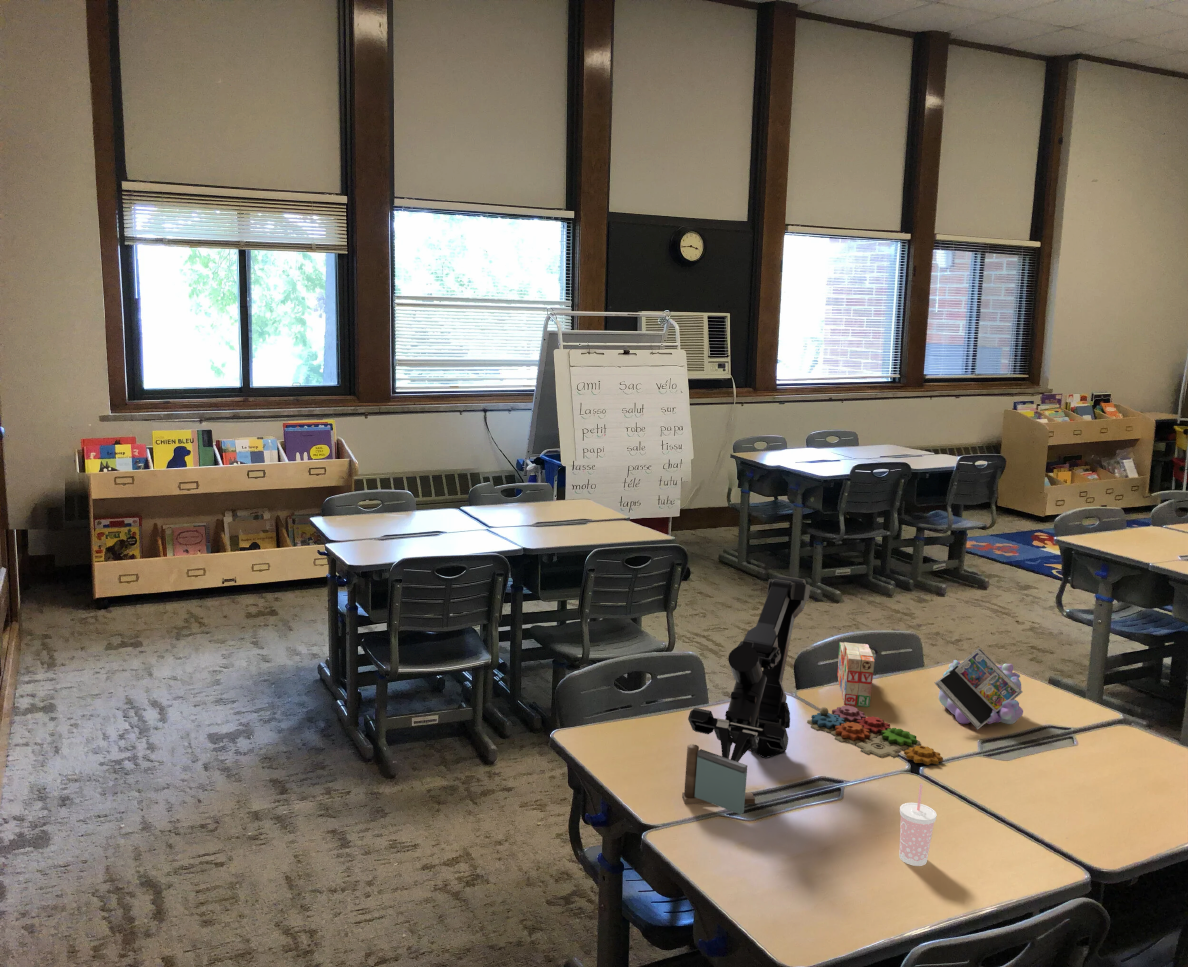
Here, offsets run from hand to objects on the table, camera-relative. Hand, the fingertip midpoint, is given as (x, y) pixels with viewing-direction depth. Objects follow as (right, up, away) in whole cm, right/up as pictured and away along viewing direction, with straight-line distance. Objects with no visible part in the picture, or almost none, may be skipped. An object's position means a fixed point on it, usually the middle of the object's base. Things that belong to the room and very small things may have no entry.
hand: (726, 770), depth 183 cm
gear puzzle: (+39, -5, +37) cm, 54 cm away
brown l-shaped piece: (-1, -7, +5) cm, 9 cm away
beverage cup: (+31, -12, -12) cm, 35 cm away
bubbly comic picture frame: (+68, -3, +53) cm, 86 cm away
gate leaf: (-1, -7, +1) cm, 7 cm away
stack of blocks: (+41, 0, +67) cm, 79 cm away
